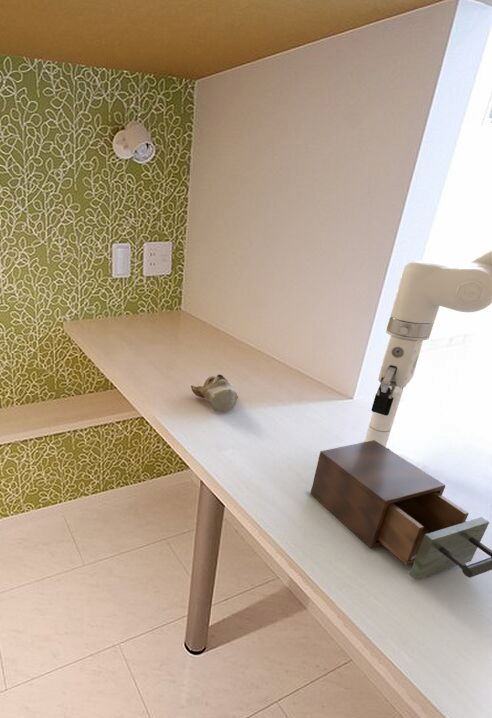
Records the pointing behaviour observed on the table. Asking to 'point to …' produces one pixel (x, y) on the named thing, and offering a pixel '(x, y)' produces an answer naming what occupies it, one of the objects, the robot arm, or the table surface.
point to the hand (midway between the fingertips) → (385, 405)
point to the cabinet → (367, 485)
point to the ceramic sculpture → (217, 393)
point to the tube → (383, 421)
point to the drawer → (434, 536)
